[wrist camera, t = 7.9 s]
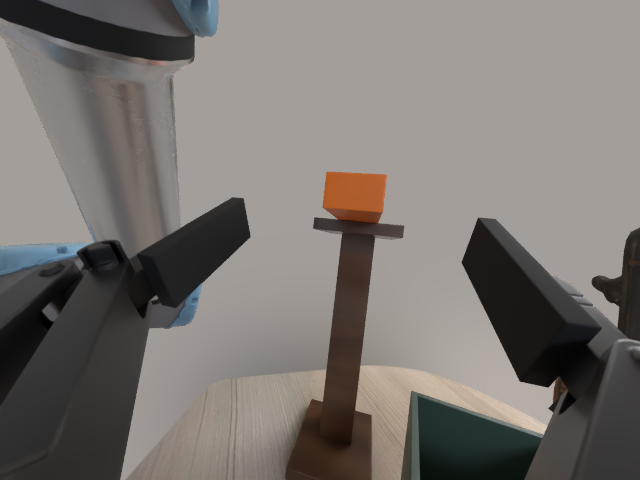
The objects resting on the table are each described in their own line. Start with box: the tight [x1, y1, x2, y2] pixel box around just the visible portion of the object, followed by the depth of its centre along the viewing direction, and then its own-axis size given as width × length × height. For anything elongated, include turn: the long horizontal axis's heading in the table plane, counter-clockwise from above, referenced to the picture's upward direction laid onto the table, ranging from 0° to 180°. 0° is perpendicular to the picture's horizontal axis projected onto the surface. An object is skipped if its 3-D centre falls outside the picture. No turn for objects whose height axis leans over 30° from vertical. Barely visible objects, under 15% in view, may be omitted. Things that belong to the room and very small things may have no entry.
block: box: [323, 172, 387, 223], centre depth 24 cm, size 18×4×2 cm, turn 168°
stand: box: [285, 218, 404, 480], centre depth 28 cm, size 11×9×28 cm
